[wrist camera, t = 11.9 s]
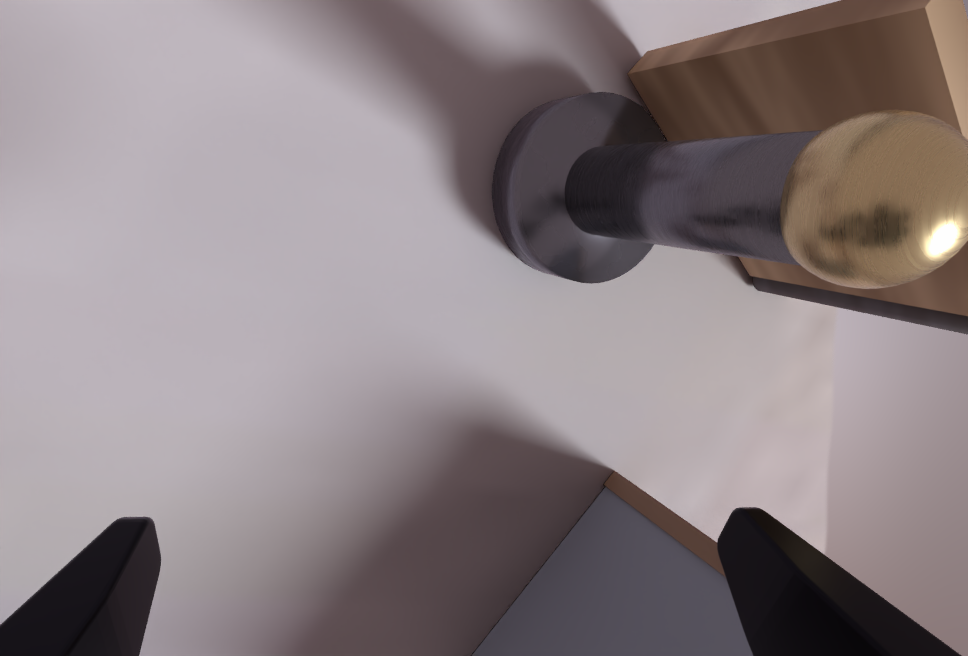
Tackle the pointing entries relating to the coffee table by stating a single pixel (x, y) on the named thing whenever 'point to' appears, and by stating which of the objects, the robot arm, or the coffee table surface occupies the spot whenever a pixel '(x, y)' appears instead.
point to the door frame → (624, 589)
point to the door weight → (731, 193)
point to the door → (824, 112)
